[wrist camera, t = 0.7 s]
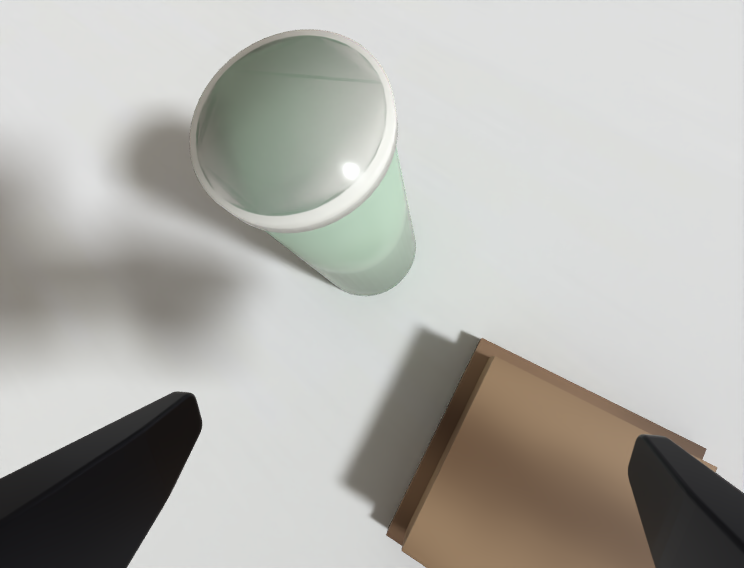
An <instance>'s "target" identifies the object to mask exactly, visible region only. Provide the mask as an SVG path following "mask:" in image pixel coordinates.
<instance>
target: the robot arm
mask: <svg viewBox="0 0 744 568" xmlns="http://www.w3.org/2000/svg"><path fill="white" fill-rule="evenodd" d="M201 429H202V418H201V415H200V411H199V408H198V404H197V400H196V397H195V396H194V395H193V394H192V393H189V392H173V393H171V394H169V395H167V396H165V397H163V398H161V399H159V400H157V401H155V402H153V403H151V404H149V405H147V406H145V407H143V408H141V409H139V410H137V411H135V412H133V413H131V414H129V415H127V416H125V417H123V418H121V419H119V420H117V421H115V422H113V423H111V424H109V425H107V426H105V427H103V428H101V429H99V430H97V431H95V432H93V433H91V434H89V435H87V436H85V437H83V438H81V439H79V440H77V441H75V442H73V443H71V444H69V445H67V446H65V447H63V448H61V449H59V450H57V451H55V452H53V453H51V454H49V455H47V456H45V457H43V458H41V459H39V460H37V461H35V462H33V463H31V464H29V465H27V466H25V467H23V468H21V469H19V470H17V471H15V472H13V473H11V474H9V475H7V476H5V477H3V478H1V479H0V568H127V566H128V565H129V563H130V561H131V560H132V558H133V556H134V555H135V553H136V551H137V550H138V548H139V546H140V545H141V543H142V541H143V540H144V538H145V536H146V535H147V533H148V532H149V530H150V528H151V527H152V525H153V523H154V522H155V520H156V518H157V517H158V515H159V513H160V512H161V510H162V508H163V506H164V505H165V503H166V501H167V499H168V498H169V496H170V494H171V492H172V490H173V488H174V486H175V484H176V482H177V480H178V478H179V476H180V474H181V472H182V470H183V467H184V465H185V463H186V461H187V459H188V457H189V455H190V453H191V451H192V449H193V447H194V445H195V443H196V441H197V439H198V437H199V434H200V432H201ZM628 478H629V482H630V485H631V489H632V492H633V495H634V499H635V502H636V505H637V509H638V512H639V515H640V519H641V522H642V525H643V529H644V532H645V535H646V539H647V542H648V546H649V549H650V552H651V555H652V559H653V562H654V565H655V568H744V493H743V492H741V491H740V490H739V489H737V488H736V487H735V486H733V485H732V484H730V483H729V482H728V481H726V480H725V479H724V478H722V477H721V476H720V475H718V474H717V473H715V472H714V471H713V470H711V469H710V468H709V467H707V466H706V465H704V464H703V463H702V462H700V461H699V460H698V459H696V458H695V457H693V456H692V455H691V454H689V453H688V452H687V451H685V450H684V449H683V448H681V447H680V446H678V445H677V444H676V443H674V442H673V441H672V440H670V439H669V438H667V437H665V436H660V435H649V434H641V435H639V436H638V437H637V439H636V441H635V444H634V448H633V451H632V454H631V458H630V461H629V465H628Z"/></svg>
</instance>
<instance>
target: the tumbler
mask: <svg viewBox="0 0 744 568" xmlns="http://www.w3.org/2000/svg"><path fill="white" fill-rule="evenodd" d="M397 137H398V122H397V114H396V108H395V102H394V97H393V92H392V88H391V85H390V82H389V79H388V77H387V75H386V73H385V71H384V69H383V68H382V66H381V65H380V63H379V62H378V60H377V59H376V58H375V57H374V56H373V55H372V54H371V53H370V52H369V51H368V50H367V49H365V48H364V47H363V46H362V45H360V44H359V43H357V42H355V41H353V40H352V39H350V38H347V37H345V36H342V35H340V34H337V33H333V32H329V31H323V30H294V31H287V32H283V33H279V34H275V35H272V36H270V37H267V38H264V39H262V40H260V41H258V42H256V43H254V44H252V45H250V46H248V47H247V48H245V49H244V50H242V51H240V52H239V53H238V54H236V55H235V56H234V57H233V58H231V59H230V60H229V61H228V62H227V63H226V64H225V65H224V66H223V67H222V68H221V69H220V70H219V71H218V72H217V73H216V74H215V76H214V77H213V78H212V79H211V81H210V82H209V84H208V85H207V87H206V88H205V90H204V92H203V93H202V95H201V97H200V99H199V101H198V104H197V106H196V109H195V111H194V115H193V119H192V122H191V129H190V155H191V161H192V164H193V168H194V171H195V173H196V175H197V178H198V180H199V182H200V183H201V185H202V186H203V188H204V190H205V191H206V192H207V193H208V194H209V196H210V197H211V198H212V199H213V200H214V201H215V202H217V203H218V204H219V205H220V206H221V207H223V208H224V209H225V210H227V211H228V212H229V213H231V214H232V215H234V216H235V217H236V218H238V219H239V220H241V221H243V222H244V223H246V224H248V225H250V226H253V227H255V228H258V229H261V230H264V231H266V232H267V233H268V234H270V235H271V236H272V237H273V238H275V239H276V240H277V241H279V242H280V243H281V244H282V245H284V246H285V247H286V248H288V249H289V250H290V251H291V252H293V253H294V254H295V255H297V256H298V257H299V258H301V259H302V260H303V261H304V262H306V263H307V264H308V265H310V266H311V267H312V268H313V269H315V270H316V271H317V272H319V273H320V274H321V275H323V276H324V277H325V278H326V279H328V280H329V281H330V282H332V283H333V284H334V285H335V286H337V287H338V288H340V289H341V290H343V291H345V292H347V293H350V294H354V295H359V296H371V295H377V294H380V293H383V292H386V291H388V290H390V289H391V288H393V287H394V286H396V285H397V284H398V283H399V282H400V281H401V280H402V279H403V278H404V277H405V276H406V275H407V273H408V271H409V270H410V268H411V266H412V263H413V260H414V257H415V251H416V242H415V236H414V231H413V226H412V221H411V216H410V211H409V207H408V202H407V197H406V192H405V187H404V182H403V177H402V172H401V168H400V163H399V158H398V153H397V148H396V143H397Z"/></svg>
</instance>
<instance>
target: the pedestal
mask: <svg viewBox="0 0 744 568" xmlns="http://www.w3.org/2000/svg"><path fill="white" fill-rule="evenodd" d="M641 434H649V435H660V436H665V437H667V438H669V439H670V440H672V441H673V442H674V443H676V444H677V445H678V446H680V447H681V448H683V449H684V450H685V451H687V452H688V453H689V454H691V455H692V456H693V457H695V458H696V459H698V460H699V461H700V462H702V463H703V464H704V465H706V466H707V467H709V468H710V469H711V470H713V471H714V472H716V470H717V467H715V466H713V465H711V464H709V463H707V462H705V461H703V460H702V459H703V456H704V454H705V451H706V448H704V447H702V446H700V445H698V444H696V443H694V442H692V441H690V440H688V439H686V438H684V437H682V436H679V435H677V434H675V433H673V432H671V431H669V430H667V429H665V428H663V427H661V426H659V425H657V424H655V423H653V422H651V421H649V420H647V419H645V418H643V417H641V416H639V415H637V414H635V413H633V412H631V411H629V410H627V409H625V408H623V407H621V406H619V405H617V404H615V403H613V402H611V401H609V400H607V399H605V398H603V397H601V396H599V395H597V394H594V393H592V392H590V391H588V390H586V389H584V388H582V387H580V386H578V385H576V384H574V383H572V382H570V381H568V380H566V379H564V378H562V377H560V376H558V375H556V374H554V373H552V372H550V371H548V370H546V369H544V368H542V367H540V366H538V365H536V364H534V363H532V362H530V361H528V360H526V359H524V358H522V357H520V356H518V355H516V354H514V353H512V352H510V351H507V350H505V349H503V348H501V347H499V346H497V345H495V344H493V343H491V342H489V341H487V340H485V339H483V338H481V339H480V341H479V343H478V345H477V347H476V349H475V351H474V354H473V356H472V358H471V360H470V362H469V364H468V366H467V368H466V370H465V372H464V374H463V376H462V378H461V380H460V382H459V384H458V386H457V388H456V390H455V393H454V395H453V397H452V399H451V401H450V403H449V405H448V407H447V409H446V411H445V413H444V415H443V417H442V419H441V421H440V423H439V425H438V427H437V429H436V432H435V434H434V436H433V438H432V440H431V442H430V444H429V446H428V448H427V450H426V452H425V454H424V456H423V458H422V460H421V462H420V464H419V466H418V468H417V471H416V473H415V475H414V477H413V479H412V481H411V483H410V485H409V487H408V489H407V491H406V493H405V495H404V497H403V499H402V501H401V503H400V505H399V507H398V510H397V512H396V514H395V516H394V518H393V520H392V522H391V524H390V526H389V528H388V531H387V534H386V535H387V536H388V537H390V538H391V539H393V540H394V541H396V542H397V543H399V544H400V545H402V551H403V552H404V553H406V554H407V555H409V556H410V557H412V558H413V559H415V560H416V561H418V562H419V563H421V564H422V565H423V566H425V567H426V568H655V565H654V562H653V559H652V555H651V552H650V549H649V546H648V542H647V539H646V535H645V532H644V529H643V525H642V522H641V519H640V515H639V512H638V509H637V505H636V502H635V499H634V495H633V492H632V489H631V485H630V482H629V478H628V465H629V461H630V458H631V454H632V451H633V448H634V444H635V441H636V439H637V437H638V436H639V435H641Z"/></svg>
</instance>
